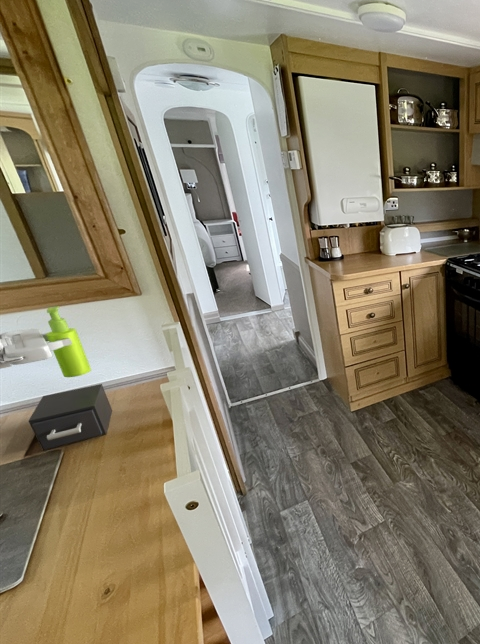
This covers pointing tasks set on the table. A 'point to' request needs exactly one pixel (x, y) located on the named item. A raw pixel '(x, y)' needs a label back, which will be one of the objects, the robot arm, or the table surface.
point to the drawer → (67, 429)
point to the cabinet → (74, 406)
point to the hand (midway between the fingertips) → (68, 337)
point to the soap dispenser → (70, 355)
